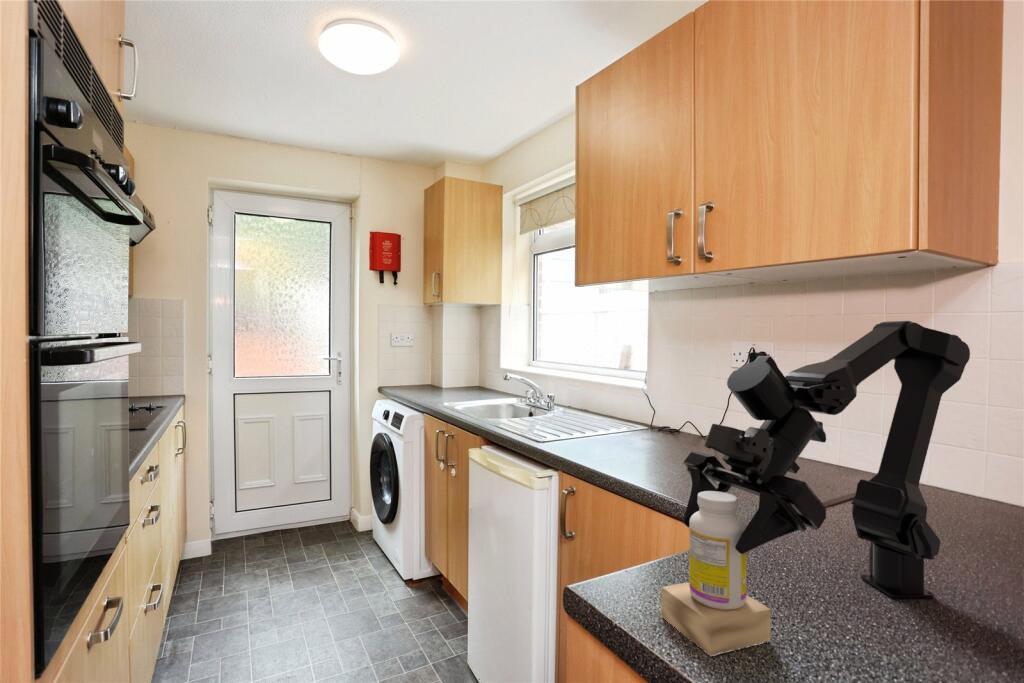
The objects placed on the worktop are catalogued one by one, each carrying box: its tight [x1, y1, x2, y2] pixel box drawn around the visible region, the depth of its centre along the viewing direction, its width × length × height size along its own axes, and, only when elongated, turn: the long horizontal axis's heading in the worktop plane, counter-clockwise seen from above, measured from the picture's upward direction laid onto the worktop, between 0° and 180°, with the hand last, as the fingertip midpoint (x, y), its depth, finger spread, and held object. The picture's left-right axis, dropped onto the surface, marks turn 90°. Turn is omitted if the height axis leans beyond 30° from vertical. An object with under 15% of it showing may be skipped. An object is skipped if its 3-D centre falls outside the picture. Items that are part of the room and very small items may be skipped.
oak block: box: [661, 581, 772, 655], centre depth 64 cm, size 9×9×4 cm
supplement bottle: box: [688, 491, 747, 610], centre depth 64 cm, size 7×7×13 cm
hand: (710, 537), depth 64 cm, fingers open, 9 cm apart
